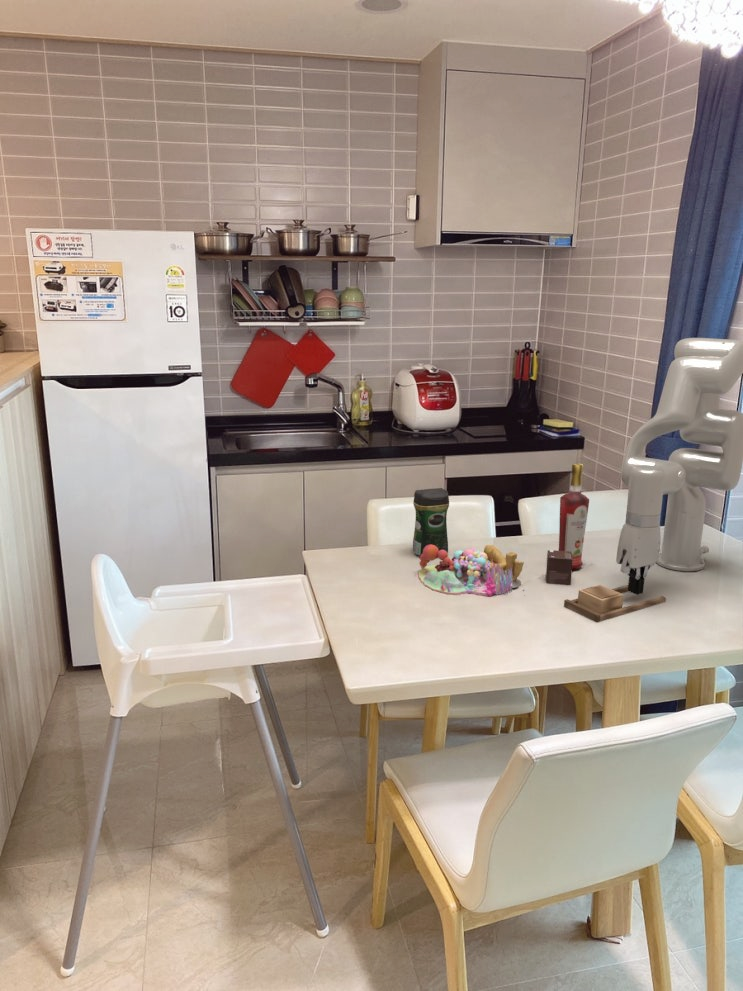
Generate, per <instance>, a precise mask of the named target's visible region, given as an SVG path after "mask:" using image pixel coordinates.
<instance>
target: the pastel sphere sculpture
mask: <svg viewBox="0 0 743 991" xmlns="http://www.w3.org/2000/svg"><path fill="white" fill-rule="evenodd" d="M448 553H449V552H448ZM448 553H447V552H446V551H445V550H440V551H439V550H438V548H437V547H436V546H435V545H432V544H430V545H427V546H425V548H424V549H423V554H422V555H421V556H419V558H420V561H419V567H420V569H419V571H418V572H417V574H418V575H417V576H418V580H420V583H422V584H423V586H424V587H426V588H428V589H430V590H431V591H434V592H436V593H441V594H445V595H449V596H461V595H465V594H472V595H475V596H482V597H491V596H493V595H496V597H497V596H498V594H499V595H501V594H502V595H504V594H507V595H508V593H509V592H511V593H512V592H513V589H515V588H518V587H519V586H521V585H522V581H521V580H520V579H519V578H518V577H519V576H520V575H521V572H522V571H523V567H524V563H525V562H523V561H519V560H517V558H518V554H517V553H516V552H514V551H511V552H506V555H504V554H503V553H502V552H501V550H500V549H498V548H497V547H496V546H495V545H494V544H485V546H484V549H483V551H479V550H478V549H475V548H474V547H471V548H467V549H464V550H460V549H459V550H456V551H455V552H454V553H453V557H452V558H449V557H448V556H449V555H448ZM437 558H438V559H439V560H440V561H439V563H438V564H433V565H428V564H429V562H431V561H435V560H436V559H437ZM427 565H428V566H427Z"/></svg>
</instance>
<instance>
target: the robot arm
mask: <svg viewBox="0 0 743 991" xmlns="http://www.w3.org/2000/svg"><path fill="white" fill-rule="evenodd" d="M673 352H674V354H673V355H674V356H673V357H674V360H672V361H671V363H670V365H669V367H668V369H667V373H666V377H665V381H664V384H663V388H662V392H661V395H660V398H659V403H658V405H657V410H656V413H655V415H654V416H653V417H651V418H650V419H649V420H648V421H646V422H645V423H644V424H643V425H641V426H639V428H638V429H637V430H636V431H635V432H634V434H633V435H632V437H631V438H630V440H629V441H628V443H627V446H626V450H625V453H624V456H623V459H622V462H621V463H622V464H621V470H620V478H621V481H622V483H623V484H624V485H626V486H627V487H628V492H627V502H626V511H625V523H624V524H622V528H621V531H620V534H619V539H618V545H617V550H616V559H615V560H616V561H615V562H616V564H618V565H621V567H620V570H619V571H620V572H621V573H623V574H626V575H627V577H628V583H627V585H628V591H627V592H630V593H632V594H634V595H637V596H639V595H642V594H644V588H645V578H646V577H647V576H648V571H649V570H650V569H651V568H652V567H653V566H655V564H657V565H658V566H661V567H663V568H666V569H669V570H672V571H680V572H696V571H697V572H698V571H701V570H703V569H704V568H705V563H706V562H705V560H703V559H702V558H701V556H702V555H704V554H707V553H709V552H710V547H709V546H707V545H704V546H703V545H702V538H703V530H704V524H705V523H704V522H705V517H706V516H705V514H706V510H707V501H706V498H705V496H704V493H703V492H702V490H701V488H704V489H705V488H706V489H710V490H711V489H712V490H718V491H728V492H729V491H731V490H734V489H735V488H736V487H737V486H738V484H739V481H740V478H741V475H742V474H741V473H742V469H743V412H741V411H739V410H734V409H723V408H720V399H721V395H725V394H727V393H729V392H730V391H731V390H732V389H733V387H734V386H735V384H736V383H737V382H738V380H739V379H740V378H741V377H742V375H743V340H741V339H729V338H728V339H726V338H725V339H724V338H712V337H710V338H709V337H688V338H686V337H685V338H683V339H680V340H679V341H677V343H676V344H675V346H674V350H673ZM675 431H676V432H677V431H679V435H680V438H681V439H682V441H685V442H687V443H690V444H696V445H697V444H698V445H704V446H711V447H720V448H721V449H722V452H721V451H713V450H709V449H708V450H707V449H699V448H698V449H697V448H692V447H682V448H681V447H680V448H678V449H676V450H674V451H672V453H670V455H669V457H668V460H664V459H658V458H652V457H651V458H650V457H646V456H645V457H644V456H641V455H642V453H643V451H644V449H645V447H646V446H647V445H648V444H649V443H650V442H651V441H653V440H655V439H656V438H658V437H660V436H664V435H666V434H669V433H673V432H675ZM664 495H667V503H666V512H665V519H664V527H663V537H662V544H661V516H662V507H663V506H662V505H663V496H664ZM701 545H702V546H701ZM660 551H661V552H660Z"/></svg>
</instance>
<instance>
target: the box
mask: <svg viewBox="0 0 743 991" xmlns="http://www.w3.org/2000/svg"><path fill="white" fill-rule="evenodd" d="M546 553H547V555H546V557H547V558H546V569H545V570H546V571H545V581H546V582H545V583H546V584H548V585H550V584H551V585H562V586H571V584H572V583H571V582H572V571H573V570H572V561H573V558H572V552H570V551H559V550H555V549H554V550H553V549H552V550H551V549H549V550H547V552H546Z"/></svg>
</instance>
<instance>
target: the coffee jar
mask: <svg viewBox="0 0 743 991" xmlns="http://www.w3.org/2000/svg"><path fill="white" fill-rule="evenodd" d="M449 498H450V495H449V492H448V490H446V489H444V488H442V487H439V488H435V487H434V488H425V489H417V490H416V489H415V491H414V494H413V503H412V504H413V507H414V510H415V523H414V532H413V540H412V552H413V554H414V555H415V556H417V557H420V556H421V555H422V554H423V549H424V548H425V546H427V545H430V544H432V545H435V546H436V547H437V548H438V550H439V551H440V550H445V551H446V552H447V553H449V538H448V526H447V515H448V514H447V513H448V509H449V508H450V507H449V506H450V499H449Z"/></svg>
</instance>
